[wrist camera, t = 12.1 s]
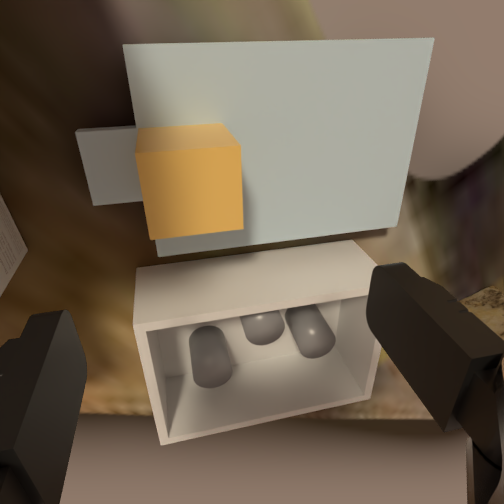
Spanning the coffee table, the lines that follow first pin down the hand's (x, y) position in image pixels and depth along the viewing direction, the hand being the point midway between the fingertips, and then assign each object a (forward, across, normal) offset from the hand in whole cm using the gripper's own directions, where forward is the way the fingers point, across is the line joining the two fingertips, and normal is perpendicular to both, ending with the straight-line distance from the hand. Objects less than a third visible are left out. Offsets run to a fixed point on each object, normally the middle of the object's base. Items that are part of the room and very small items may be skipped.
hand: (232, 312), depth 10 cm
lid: (+15, -4, 0) cm, 16 cm away
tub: (+15, -3, +13) cm, 20 cm away
